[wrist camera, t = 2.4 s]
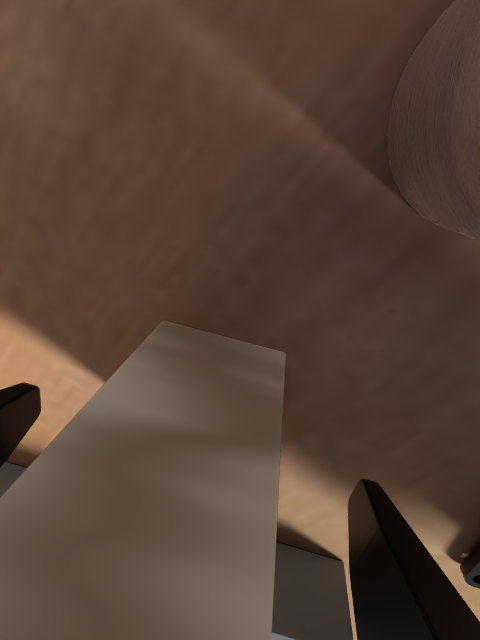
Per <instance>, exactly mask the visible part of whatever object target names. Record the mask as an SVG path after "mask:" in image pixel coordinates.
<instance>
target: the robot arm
mask: <svg viewBox="0 0 480 640" xmlns="http://www.w3.org/2000/svg"><path fill="white" fill-rule="evenodd" d="M40 412H41V399H40V389H39V388H38V386H35V385H32V384H28V383H20V384H17V385H14V386H11V387H8V388H5V389H2V390H0V468H1V467H2V465H3V464H4V463H5V461H6V460H7V459H8V458H9V456H10V455H11V453H12V452H13V451H14V449H15V448H16V447H17V445H18V444H19V443H20V441H21V440H22V439H23V437H24V436H25V434H26V433H27V432H28V430H29V429H30V428H31V426H32V425H33V424H34V422H35V421H36V419H37V418H38V416H39V415H40ZM348 531H349V570H350V581H351V590H352V598H353V607H354V615H355V623H356V632H357V640H480V622H479V620H478V619H477V618H476V616H475V615H474V613H473V612H472V611H471V609H470V608H469V607H468V605H467V604H466V602H465V601H464V600H463V598H462V597H461V596H460V594H459V593H458V591H457V590H456V589H455V587H454V586H453V585H452V583H451V582H450V581H449V579H448V578H447V576H446V575H445V574H444V572H443V571H442V570H441V568H440V567H439V565H438V564H437V563H436V561H435V560H434V559H433V557H432V556H431V555H430V553H429V552H428V550H427V549H426V548H425V546H424V545H423V544H422V542H421V541H420V539H419V538H418V537H417V535H416V534H415V533H414V531H413V530H412V529H411V527H410V526H409V524H408V523H407V522H406V520H405V519H404V518H403V516H402V515H401V513H400V512H399V511H398V509H397V508H396V507H395V505H394V504H393V502H392V501H391V500H390V498H389V497H388V496H387V494H386V493H385V492H384V490H383V489H382V487H381V486H380V485H379V484H378V483H377V482H375V481H372V480H368V479H365V478H362V479H360V480H359V481H358V483H357V485H356V487H355V489H354V491H353V492H352V494H351V496H350V498H349V502H348ZM460 569H461V572H462V574H463V577H464V579H465V581H466V583H468V584H469V585H471V586H473V587H476V588H480V544H479V545H478V546H477V547H476V548H475V550H474V551H473V552H472V553H471V554H470V555H469V556H468V557H467V558H466V559H465V560H464V562H463V563H462V564H461V566H460Z"/></svg>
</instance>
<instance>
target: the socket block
mask: <svg viewBox="0 0 480 640" xmlns="http://www.w3.org/2000/svg"><path fill="white" fill-rule="evenodd" d="M26 469H27V468H25V467H21V466H18V465H15V464H11V463H8V462H5V463H4V464H3V465H2V467H1V468H0V498H1V496H2V495H3V494H4V493H5V492H6V491H7V490H8V489H9V488H10V487H11V486H12V484H13V483H14V482H15V481H16V480H17V479H18V478H19V477H20V476H21V475H22V473H23V472H24V471H25V470H26ZM271 640H353V634H352V626H351V618H350V610H349V602H348V594H347V586H346V578H345V571H344V563H343V562H341V561H338V560H335V559H331V558H328V557H325V556H321V555H318V554H314V553H311V552H308V551H304V550H301V549H298V548H294V547H291V546H287V545H284V544H281V543H277V542H276V554H275V573H274V593H273V612H272V632H271Z"/></svg>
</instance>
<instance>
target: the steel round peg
mask: <svg viewBox="0 0 480 640" xmlns="http://www.w3.org/2000/svg"><path fill="white" fill-rule="evenodd" d="M387 149H388V158H389V163H390V168H391V172H392V174H393V177H394V180H395V183H396V185H397V187H398V188H399V190H400V192H401V194H402V196H403V197H404V198H405V200H406V201H407V202H408V203H409V205H410V206H411V207H412V208H413V209H414V210H415V211H416V212H417V213H418V214H420V215H421V216H422V217H424V218H425V219H427V220H428V221H430V222H432V223H434V224H436V225H438V226H440V227H442V228H445V229H448V230H451V231H454V232H456V233H459V234H462V235H465V236H468V237H471V238H474V239H476V240H479V241H480V0H454V1H453V2H452V3H451V4H450V6H449V7H448V8H447V9H446V10H445V11H444V12H443V13H442V14H441V15H440V16H439V18H438V19H437V20H436V21H435V23H434V24H433V25H432V26H431V27H430V29H429V30H428V31H427V32H426V34H425V35H424V36H423V38H422V39H421V41H420V42H419V44H418V45H417V47H416V48H415V50H414V51H413V53H412V55H411V57H410V59H409V61H408V63H407V64H406V66H405V68H404V70H403V73H402V75H401V77H400V80H399V82H398V85H397V87H396V90H395V94H394V97H393V100H392V104H391V108H390V114H389V119H388V129H387Z"/></svg>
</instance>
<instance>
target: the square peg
mask: <svg viewBox="0 0 480 640" xmlns="http://www.w3.org/2000/svg"><path fill="white" fill-rule="evenodd" d="M285 359H286V353H285V352H281V351H277V350H274V349H270V348H266V347H263V346H259V345H255V344H251V343H248V342H244V341H240V340H236V339H233V338H229V337H225V336H221V335H218V334H214V333H210V332H206V331H203V330H199V329H195V328H191V327H188V326H184V325H180V324H177V323H173V322H169V321H165V320H162V321H161V322H160V323H159V325H158V326H157V327H156V328H155V329H154V330H153V331H152V332H151V333H150V334H149V336H148V337H147V338H146V339H145V340H144V341H143V342H142V343H141V344H140V345H139V346H138V348H137V349H136V350H135V351H134V352H133V353H132V354H131V355H130V356H129V357H128V359H127V360H126V361H125V362H124V363H123V364H122V365H121V366H120V367H119V368H118V369H117V371H116V372H115V373H114V374H113V375H112V376H111V377H110V378H109V379H108V380H107V382H106V383H105V384H104V385H103V386H102V387H101V388H100V389H99V390H98V391H97V392H96V394H95V395H94V396H93V397H92V398H91V399H90V400H89V401H88V402H87V403H86V405H85V406H84V407H83V408H82V409H81V410H80V411H79V412H78V413H77V414H76V415H75V417H74V418H73V419H72V420H71V421H70V422H69V423H68V424H67V425H66V426H65V428H64V429H63V430H62V431H61V432H60V433H59V434H58V435H57V436H56V437H55V438H54V440H53V441H52V442H51V443H50V444H49V445H48V446H47V447H46V448H45V449H44V450H43V452H42V453H41V454H40V455H39V456H38V457H37V458H36V459H35V460H34V461H33V463H32V464H31V465H30V466H29V467H28V468H27V469H26V470H25V471H24V472H23V473H22V475H21V476H20V477H19V478H18V479H17V480H16V481H15V482H14V483H13V484H12V486H11V487H10V488H9V489H8V490H7V491H6V492H5V493H4V494H3V495H2V496H1V498H0V640H271V632H272V612H273V593H274V573H275V554H276V534H277V515H278V496H279V476H280V457H281V437H282V418H283V398H284V379H285Z"/></svg>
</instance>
